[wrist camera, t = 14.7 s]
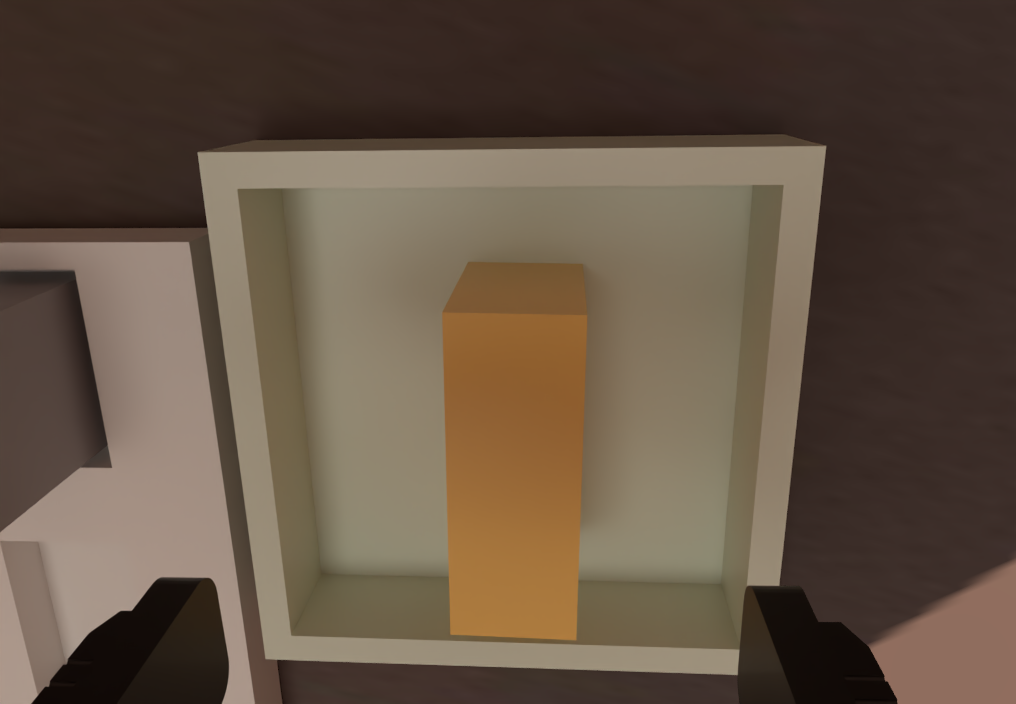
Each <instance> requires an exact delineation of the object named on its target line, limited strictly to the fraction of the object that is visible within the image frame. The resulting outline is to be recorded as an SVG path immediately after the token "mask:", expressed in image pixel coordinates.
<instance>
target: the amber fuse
mask: <svg viewBox="0 0 1016 704" xmlns="http://www.w3.org/2000/svg"><path fill="white" fill-rule="evenodd" d="M442 327H443V366H444V406H445V445H446V485H447V524H448V563H449V603H450V635H470V636H492V637H514V638H537V639H559V640H576V634H577V605H578V576H579V547H580V518H581V489H582V460H583V431H584V402H585V372H586V343H587V305H586V294H585V283H584V272H583V264H567V263H505V262H468V263H467V265H466V267H465V269H464V271H463V273H462V275H461V277H460V279H459V281H458V283H457V284H456V286H455V288H454V290H453V292H452V294H451V296H450V298H449V300H448V302H447V304H446V306H445V308H444V310H443V312H442Z"/></svg>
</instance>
